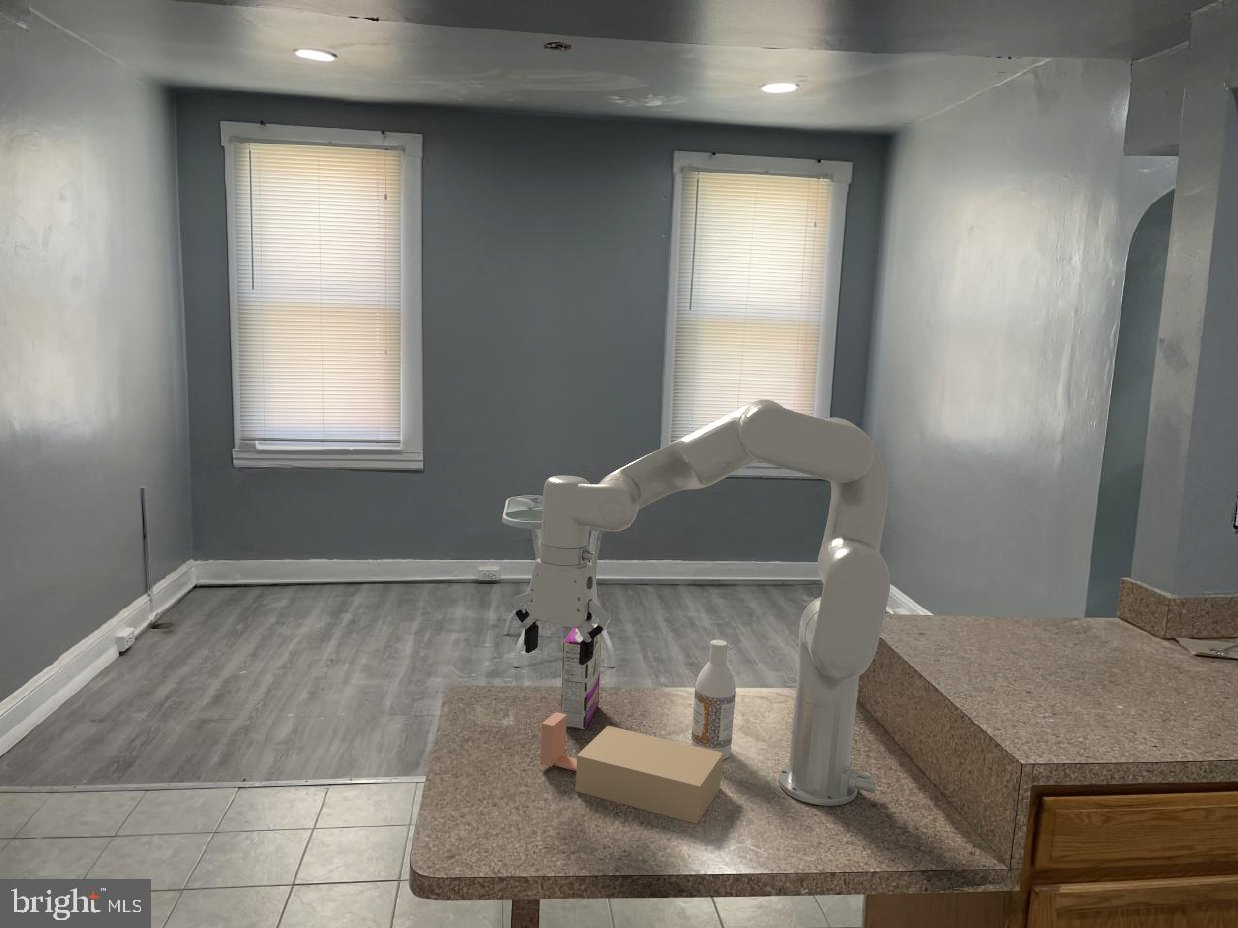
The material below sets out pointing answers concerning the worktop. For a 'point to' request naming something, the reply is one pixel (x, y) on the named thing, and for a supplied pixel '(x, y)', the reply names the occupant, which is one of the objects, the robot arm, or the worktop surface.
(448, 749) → the worktop surface
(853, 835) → the worktop surface
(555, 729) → the tray
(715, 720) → the bath foam
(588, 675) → the candy bar box
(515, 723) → the worktop surface
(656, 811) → the sleeve
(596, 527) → the robot arm
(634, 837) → the worktop surface
